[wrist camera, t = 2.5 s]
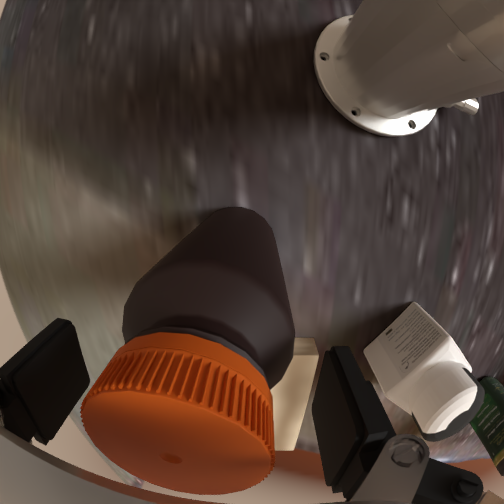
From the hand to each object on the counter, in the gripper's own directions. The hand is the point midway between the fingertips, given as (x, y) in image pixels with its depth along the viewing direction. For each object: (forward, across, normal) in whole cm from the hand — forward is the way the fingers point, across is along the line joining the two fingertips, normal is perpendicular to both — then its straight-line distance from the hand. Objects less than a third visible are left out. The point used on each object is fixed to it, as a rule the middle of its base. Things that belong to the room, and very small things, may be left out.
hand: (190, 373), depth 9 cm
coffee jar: (+16, -42, +22) cm, 50 cm away
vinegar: (+16, 0, -1) cm, 16 cm away
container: (+16, -20, +9) cm, 27 cm away
